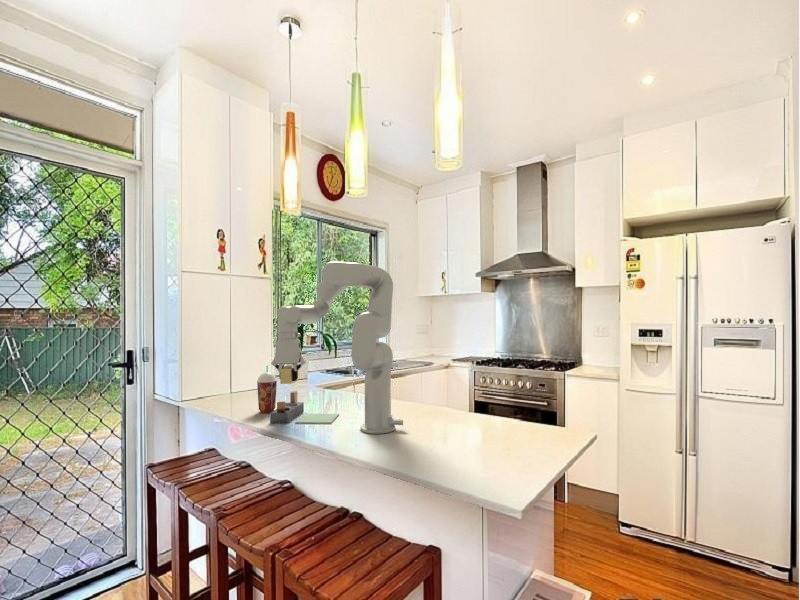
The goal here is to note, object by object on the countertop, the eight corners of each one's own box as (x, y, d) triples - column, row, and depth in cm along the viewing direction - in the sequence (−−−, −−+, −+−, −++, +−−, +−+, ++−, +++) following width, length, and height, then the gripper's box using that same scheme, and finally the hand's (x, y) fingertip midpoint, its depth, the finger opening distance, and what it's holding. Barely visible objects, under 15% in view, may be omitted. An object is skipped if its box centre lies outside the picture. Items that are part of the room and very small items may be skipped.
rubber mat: (339, 415, 169) (339, 413, 169) (331, 424, 155) (331, 422, 155) (306, 415, 170) (306, 413, 170) (295, 423, 156) (295, 422, 156)
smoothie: (281, 411, 178) (281, 365, 179) (265, 415, 171) (265, 367, 172) (268, 409, 182) (268, 364, 183) (252, 412, 175) (252, 366, 176)
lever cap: (296, 381, 170) (296, 364, 171) (291, 383, 163) (291, 366, 164) (286, 381, 171) (286, 365, 171) (280, 383, 164) (280, 366, 164)
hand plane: (303, 411, 176) (303, 390, 177) (287, 423, 156) (287, 400, 157) (287, 411, 177) (287, 390, 177) (269, 423, 157) (270, 399, 157)
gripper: (310, 335, 171) (311, 379, 170) (271, 336, 172) (272, 379, 171) (305, 336, 164) (306, 381, 163) (264, 337, 165) (265, 382, 164)
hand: (288, 380), depth 167 cm, fingers closed on lever cap, 4 cm apart
